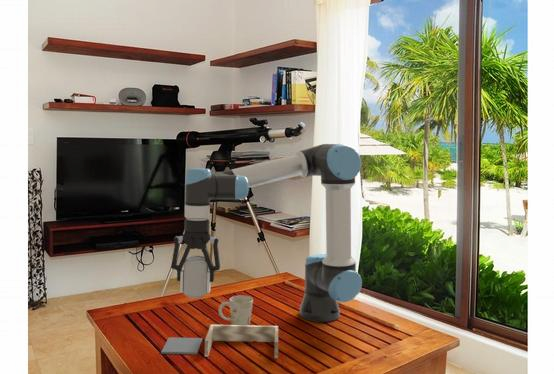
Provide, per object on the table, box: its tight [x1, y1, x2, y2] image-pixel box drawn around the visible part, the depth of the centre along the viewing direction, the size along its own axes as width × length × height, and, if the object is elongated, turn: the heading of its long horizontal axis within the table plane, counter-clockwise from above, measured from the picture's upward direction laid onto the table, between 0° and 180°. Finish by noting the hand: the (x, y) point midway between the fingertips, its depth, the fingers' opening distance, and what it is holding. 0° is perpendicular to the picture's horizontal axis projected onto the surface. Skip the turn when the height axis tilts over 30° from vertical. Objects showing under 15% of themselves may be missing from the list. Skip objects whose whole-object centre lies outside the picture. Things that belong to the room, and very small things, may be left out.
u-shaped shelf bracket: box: [204, 324, 279, 359], centre depth 151 cm, size 22×13×5 cm, turn 90°
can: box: [182, 255, 209, 299], centre depth 149 cm, size 8×8×12 cm
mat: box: [160, 336, 204, 355], centre depth 151 cm, size 11×11×1 cm
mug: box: [218, 295, 254, 325], centre depth 169 cm, size 8×13×10 cm, turn 78°
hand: (195, 291), depth 149 cm, fingers closed on can, 7 cm apart
